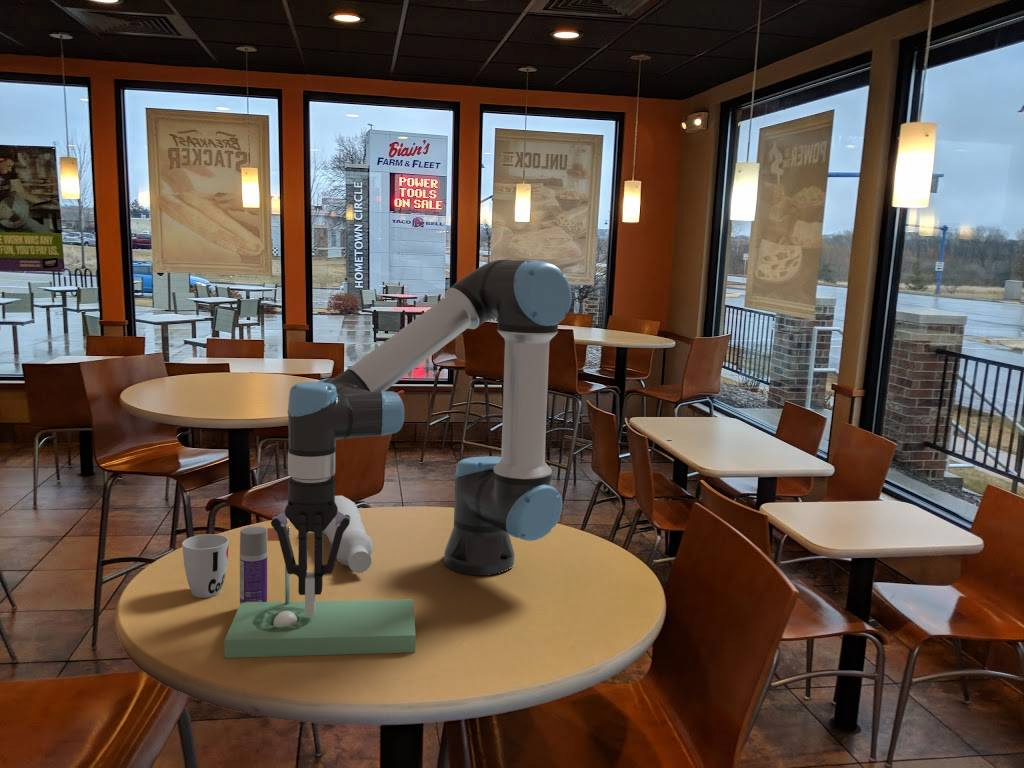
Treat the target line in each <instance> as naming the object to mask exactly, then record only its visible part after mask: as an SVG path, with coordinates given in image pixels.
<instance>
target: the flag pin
mask: <svg viewBox="0 0 1024 768" xmlns="http://www.w3.org/2000/svg"><path fill="white" fill-rule="evenodd" d="M286 527H287V530H288V534H289V538H290V539H291V526H290V525H286ZM266 530H267V542H272V541H273V542H279V538H278V534H277V532H276V531H275V529H274V528H273V527H267V528H266ZM290 592H291V574H288V572H287V569H286V565H285V564H284V602H285V604H286V605H288V604H290V602H291V600H290V599H291V598H290V597H291V593H290Z"/></svg>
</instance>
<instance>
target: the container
mask: <svg viewBox="0 0 1024 768" xmlns="http://www.w3.org/2000/svg"><path fill="white" fill-rule="evenodd" d="M239 533H240V534H239V535H240V536H239V538H240V539H239V604H240V603H241V602H268V541H267V528H266V527H264V526H259V525H258V526H257V525H256V526H247V527H244V528H242V529H240V530H239Z"/></svg>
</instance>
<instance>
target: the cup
mask: <svg viewBox="0 0 1024 768" xmlns="http://www.w3.org/2000/svg"><path fill="white" fill-rule="evenodd" d="M229 542H230V540H229V538H228V537H227V536H226V535H223V534H212V533H211V534H210V533H207V534H206V533H205V534H198V535H194V536H191V537H188V538H186V539H184V540H183V541H182V544H181V545H182V555H183V566H184V571H185V576H186V581H187V584H188V587H189V589H190V592H191V594H192V595H191V596H193V597H196V598H200V599H201V598H204V599H205V598H211V597H214V596H217V595H218V594H220V593H221V591H222V588H223V586H224V582H225V579H226V573H227V566H228V561H229V560H228V559H229V547H230V546H229Z"/></svg>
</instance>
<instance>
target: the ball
mask: <svg viewBox="0 0 1024 768" xmlns="http://www.w3.org/2000/svg"><path fill="white" fill-rule="evenodd" d="M296 622H298V620H297V617H296V615H295V614H294V613H292V612H290V611H283V612H280V613H279V614H278V615H277V616H276V617H275V619H274V622H273V626H275V627H285V626H289V625H293V624H295V623H296Z"/></svg>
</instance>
